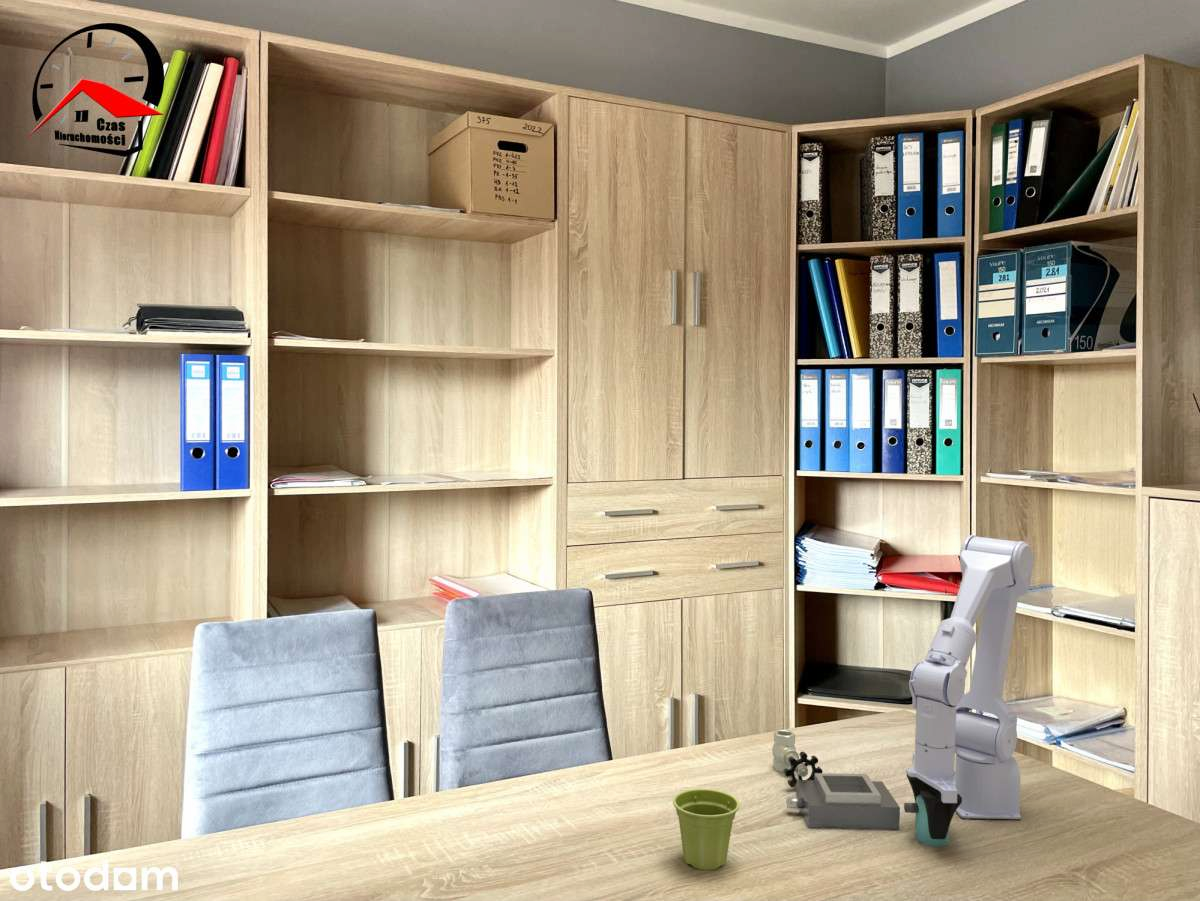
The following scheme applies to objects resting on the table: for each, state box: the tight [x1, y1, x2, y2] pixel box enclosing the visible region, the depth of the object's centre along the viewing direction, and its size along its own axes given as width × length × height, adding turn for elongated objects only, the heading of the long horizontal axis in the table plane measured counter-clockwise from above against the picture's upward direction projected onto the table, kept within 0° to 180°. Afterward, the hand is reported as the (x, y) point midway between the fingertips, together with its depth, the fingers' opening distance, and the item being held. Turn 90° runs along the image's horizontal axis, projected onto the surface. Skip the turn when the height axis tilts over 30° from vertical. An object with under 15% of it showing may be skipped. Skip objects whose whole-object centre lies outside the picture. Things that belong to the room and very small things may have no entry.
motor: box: [785, 772, 901, 830], centre depth 156 cm, size 16×10×5 cm, turn 89°
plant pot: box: [672, 788, 740, 871], centre depth 140 cm, size 9×9×9 cm
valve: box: [771, 729, 824, 788], centre depth 171 cm, size 7×7×12 cm
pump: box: [903, 795, 950, 847], centre depth 148 cm, size 6×5×6 cm
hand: (931, 829), depth 148 cm, fingers closed on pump, 5 cm apart
